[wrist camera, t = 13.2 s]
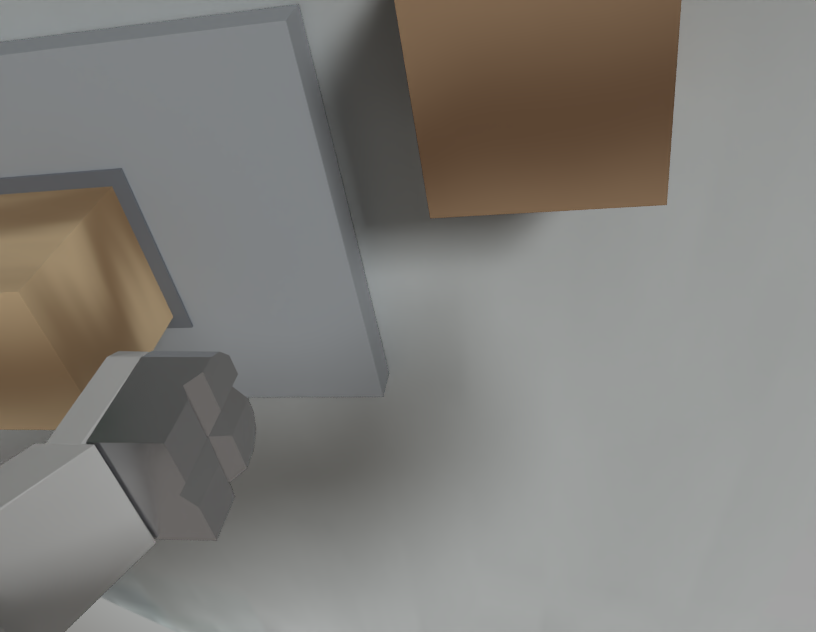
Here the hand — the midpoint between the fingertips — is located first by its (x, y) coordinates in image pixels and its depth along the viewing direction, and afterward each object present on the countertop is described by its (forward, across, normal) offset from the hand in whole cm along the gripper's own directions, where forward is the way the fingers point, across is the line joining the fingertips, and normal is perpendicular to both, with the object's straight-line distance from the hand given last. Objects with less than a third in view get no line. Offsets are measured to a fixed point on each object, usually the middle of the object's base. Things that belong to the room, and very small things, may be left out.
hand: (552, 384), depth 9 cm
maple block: (+11, +15, +5) cm, 20 cm away
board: (+12, +15, +5) cm, 20 cm away
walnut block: (+12, 0, 0) cm, 12 cm away
